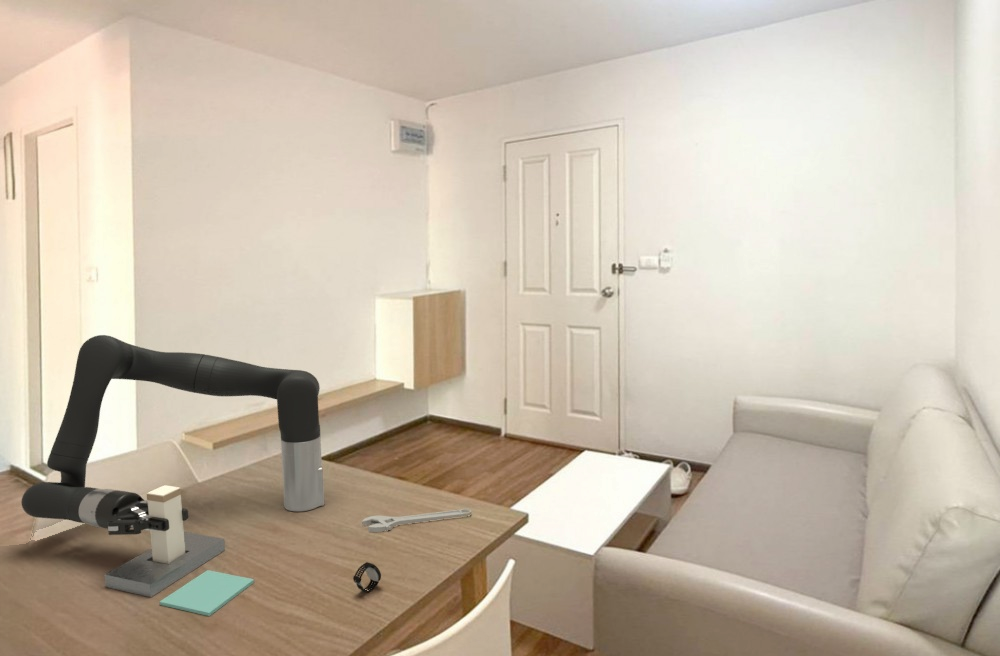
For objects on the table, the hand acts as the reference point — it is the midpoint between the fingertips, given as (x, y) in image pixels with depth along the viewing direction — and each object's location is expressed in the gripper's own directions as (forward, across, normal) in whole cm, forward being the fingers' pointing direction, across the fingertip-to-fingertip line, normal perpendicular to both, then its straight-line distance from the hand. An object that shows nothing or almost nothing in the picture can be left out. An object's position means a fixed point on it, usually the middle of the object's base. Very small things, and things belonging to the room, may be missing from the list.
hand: (177, 520), depth 114 cm
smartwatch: (+39, +5, +11) cm, 40 cm away
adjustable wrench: (+36, +33, +11) cm, 50 cm away
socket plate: (-3, 0, +10) cm, 11 cm away
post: (-3, 0, +8) cm, 9 cm away
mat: (+12, -5, +10) cm, 16 cm away
